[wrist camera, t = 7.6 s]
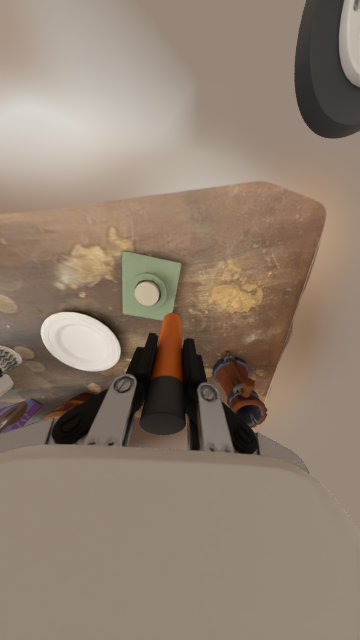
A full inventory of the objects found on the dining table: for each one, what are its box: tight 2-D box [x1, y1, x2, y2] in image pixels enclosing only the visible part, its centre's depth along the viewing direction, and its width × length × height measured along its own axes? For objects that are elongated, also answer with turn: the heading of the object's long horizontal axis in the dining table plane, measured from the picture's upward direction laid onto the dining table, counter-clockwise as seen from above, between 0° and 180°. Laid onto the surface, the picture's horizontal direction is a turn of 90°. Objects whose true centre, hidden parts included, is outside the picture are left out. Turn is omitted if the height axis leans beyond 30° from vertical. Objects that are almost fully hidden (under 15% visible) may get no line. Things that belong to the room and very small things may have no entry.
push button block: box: [122, 251, 181, 320], centre depth 29 cm, size 14×12×3 cm
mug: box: [213, 351, 267, 428], centre depth 35 cm, size 18×12×15 cm, turn 13°
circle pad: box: [135, 281, 160, 306], centre depth 27 cm, size 5×5×2 cm
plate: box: [41, 312, 121, 371], centre depth 36 cm, size 21×21×2 cm
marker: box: [140, 313, 186, 435], centre depth 11 cm, size 2×2×11 cm
